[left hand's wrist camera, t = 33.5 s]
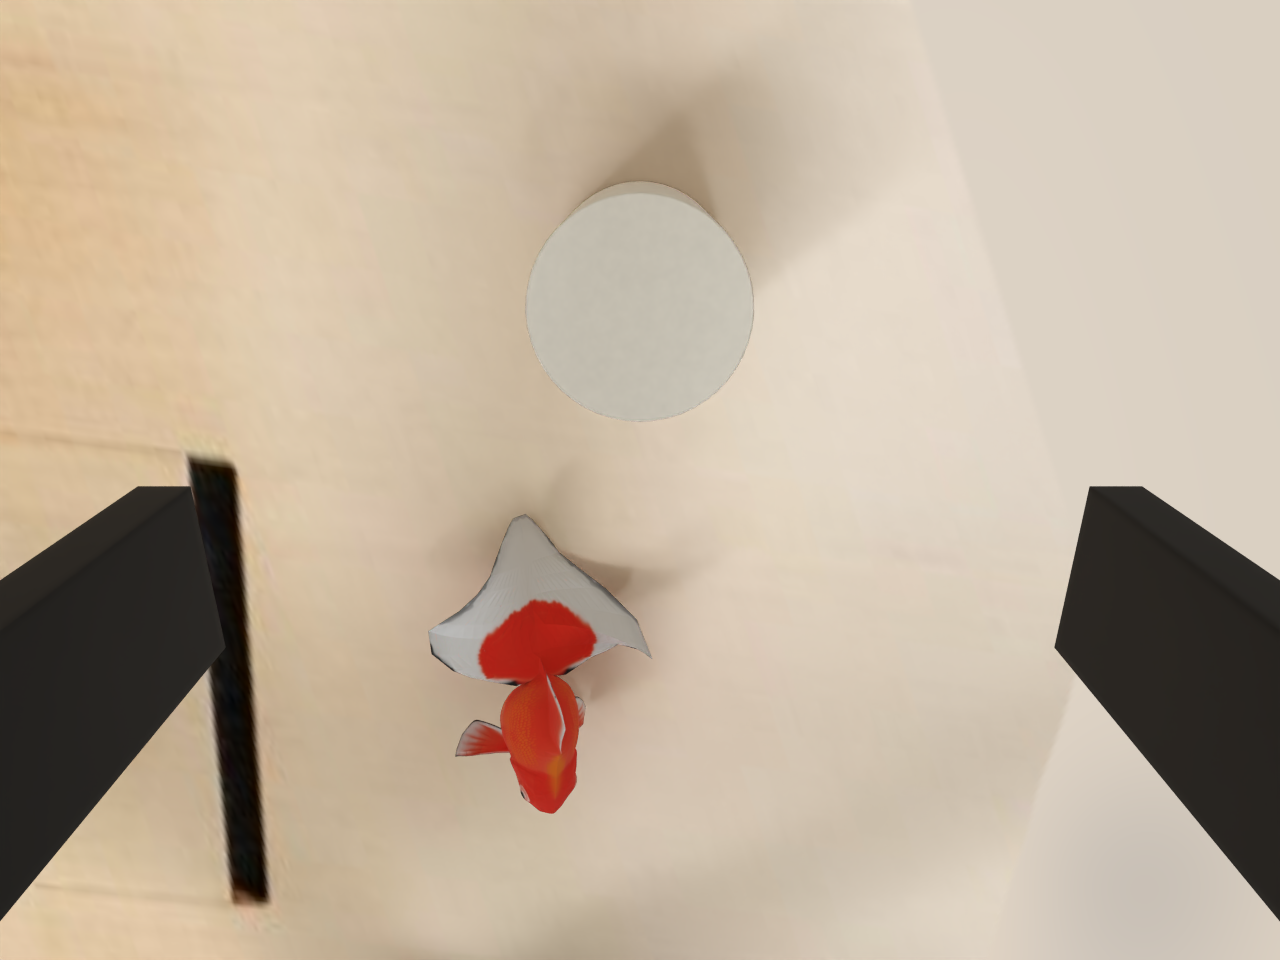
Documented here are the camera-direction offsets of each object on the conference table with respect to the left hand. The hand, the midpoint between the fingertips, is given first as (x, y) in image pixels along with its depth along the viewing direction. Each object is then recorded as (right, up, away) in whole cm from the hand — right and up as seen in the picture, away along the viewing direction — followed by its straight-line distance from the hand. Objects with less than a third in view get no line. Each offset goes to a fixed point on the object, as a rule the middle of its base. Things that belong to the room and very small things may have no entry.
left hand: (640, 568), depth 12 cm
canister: (0, +11, +28) cm, 30 cm away
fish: (-6, -7, +35) cm, 36 cm away
